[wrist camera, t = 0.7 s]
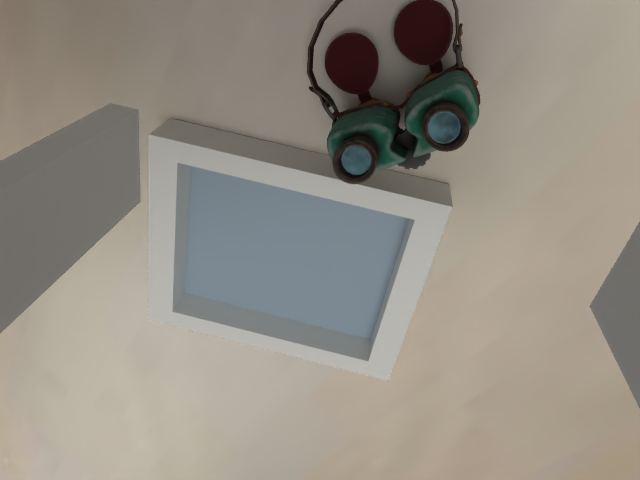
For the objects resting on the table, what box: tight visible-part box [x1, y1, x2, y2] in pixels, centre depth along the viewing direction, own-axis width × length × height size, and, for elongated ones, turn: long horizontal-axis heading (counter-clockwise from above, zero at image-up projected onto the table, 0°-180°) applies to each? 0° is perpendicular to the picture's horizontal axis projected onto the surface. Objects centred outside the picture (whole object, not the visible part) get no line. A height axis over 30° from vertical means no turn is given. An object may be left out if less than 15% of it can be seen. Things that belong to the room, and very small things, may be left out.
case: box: [148, 119, 453, 381], centre depth 37 cm, size 16×20×4 cm
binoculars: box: [307, 0, 480, 184], centre depth 27 cm, size 9×10×10 cm
